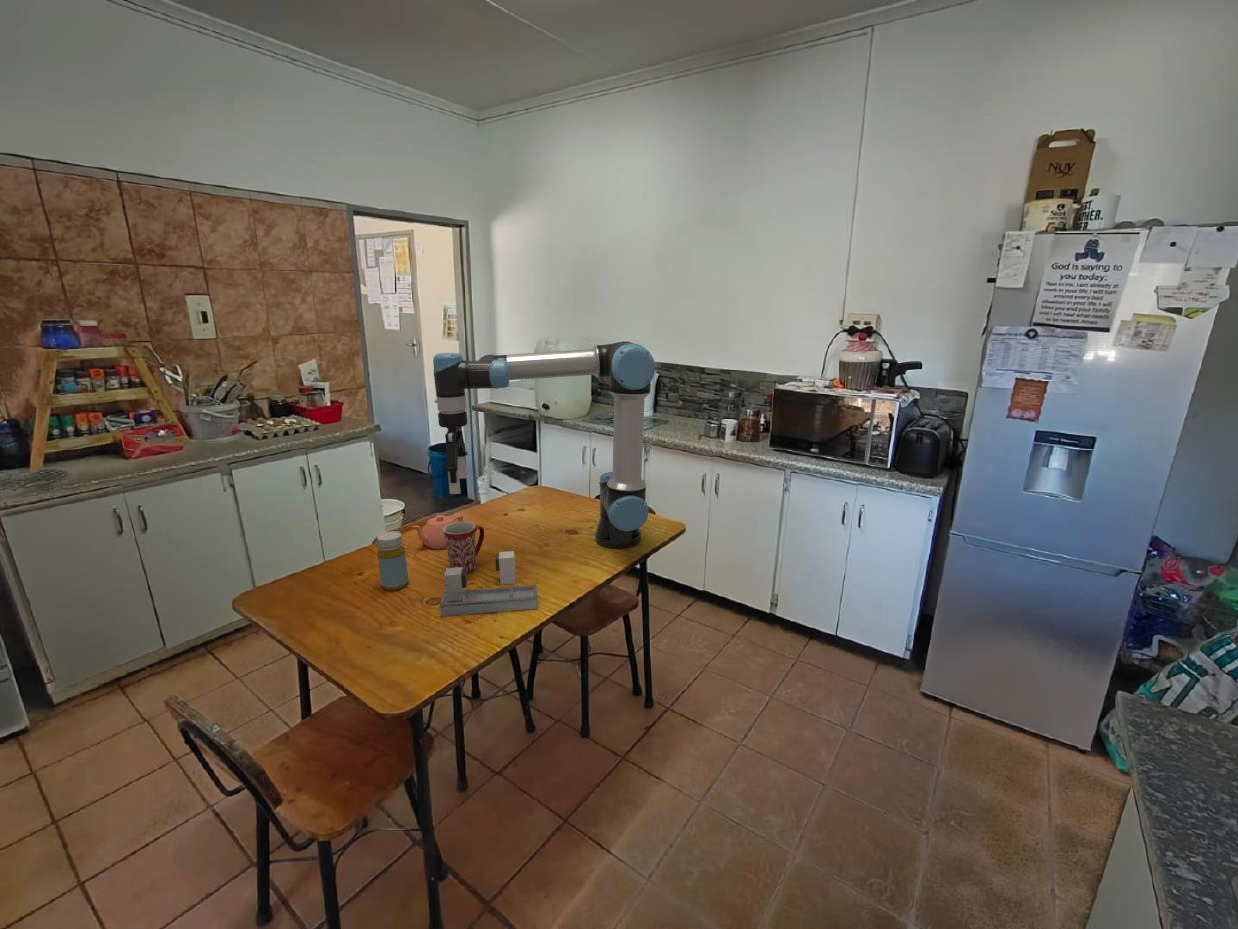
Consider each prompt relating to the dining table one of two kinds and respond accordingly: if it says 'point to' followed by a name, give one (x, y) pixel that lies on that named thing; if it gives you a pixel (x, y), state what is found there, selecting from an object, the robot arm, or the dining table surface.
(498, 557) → the small grey block
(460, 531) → the mug
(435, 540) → the teapot
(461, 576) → the rail
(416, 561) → the dining table surface
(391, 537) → the bottle
